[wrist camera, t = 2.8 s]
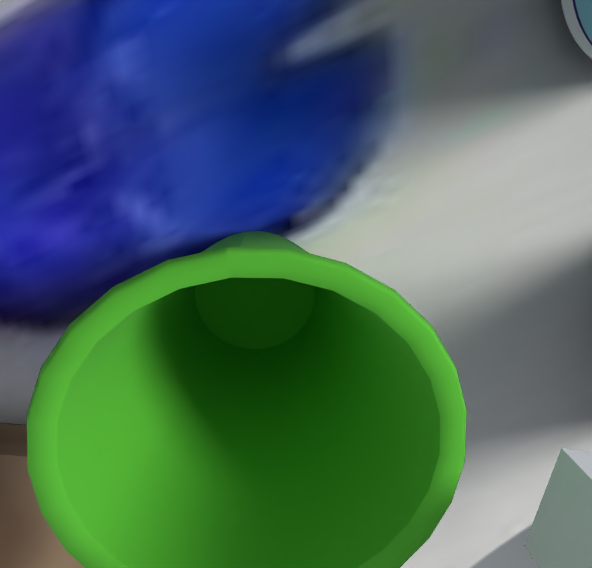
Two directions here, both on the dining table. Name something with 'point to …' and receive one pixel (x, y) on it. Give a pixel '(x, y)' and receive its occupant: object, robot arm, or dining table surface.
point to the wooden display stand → (24, 511)
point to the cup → (246, 417)
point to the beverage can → (579, 22)
